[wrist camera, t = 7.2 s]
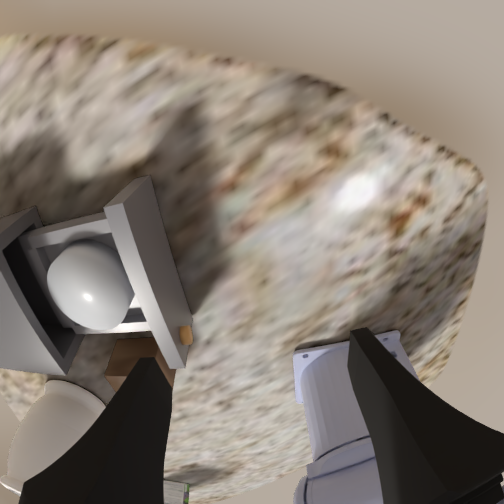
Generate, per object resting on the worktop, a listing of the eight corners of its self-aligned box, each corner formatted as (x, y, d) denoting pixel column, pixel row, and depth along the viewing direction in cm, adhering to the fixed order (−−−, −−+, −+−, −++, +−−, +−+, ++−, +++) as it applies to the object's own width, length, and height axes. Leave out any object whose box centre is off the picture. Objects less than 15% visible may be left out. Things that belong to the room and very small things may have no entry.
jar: (99, 379, 25) (62, 512, 12) (128, 427, 30) (110, 532, 17) (24, 365, 25) (-21, 470, 12) (60, 413, 30) (33, 504, 17)
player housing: (35, 205, 16) (-12, 243, 12) (89, 325, 22) (66, 375, 17) (-33, 231, 17) (-71, 264, 12) (15, 327, 22) (-9, 366, 17)
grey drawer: (158, 173, 16) (132, 201, 12) (199, 318, 21) (193, 367, 17) (22, 210, 16) (-16, 241, 12) (77, 327, 21) (56, 367, 17)
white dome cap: (120, 235, 16) (109, 251, 14) (145, 311, 19) (138, 330, 17) (48, 243, 16) (34, 258, 14) (78, 312, 19) (68, 328, 17)
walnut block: (161, 336, 22) (151, 376, 19) (176, 368, 24) (170, 406, 21) (117, 339, 22) (104, 376, 19) (135, 369, 24) (126, 405, 21)
